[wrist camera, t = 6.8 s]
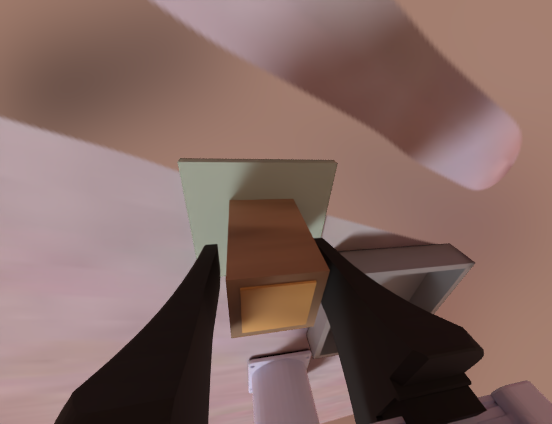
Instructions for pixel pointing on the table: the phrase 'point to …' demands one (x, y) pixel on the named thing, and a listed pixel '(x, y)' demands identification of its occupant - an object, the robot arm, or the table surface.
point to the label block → (271, 268)
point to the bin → (400, 281)
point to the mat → (251, 193)
